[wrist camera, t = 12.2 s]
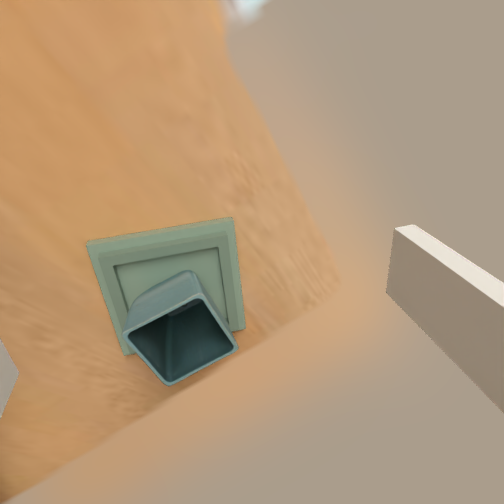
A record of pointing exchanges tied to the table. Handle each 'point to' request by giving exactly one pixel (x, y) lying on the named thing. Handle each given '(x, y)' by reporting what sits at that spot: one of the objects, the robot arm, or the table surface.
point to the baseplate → (169, 267)
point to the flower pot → (177, 328)
